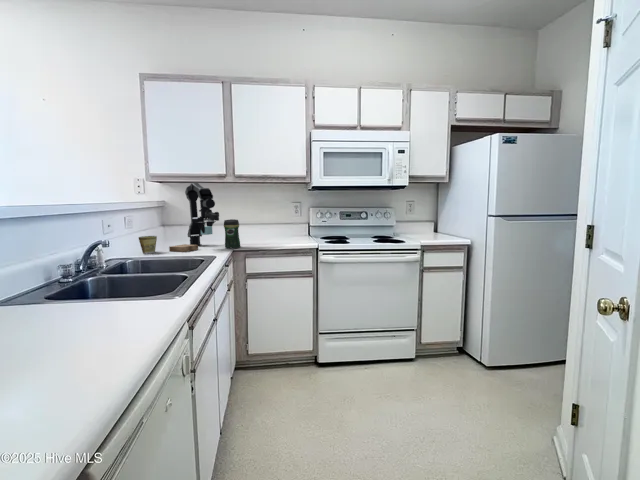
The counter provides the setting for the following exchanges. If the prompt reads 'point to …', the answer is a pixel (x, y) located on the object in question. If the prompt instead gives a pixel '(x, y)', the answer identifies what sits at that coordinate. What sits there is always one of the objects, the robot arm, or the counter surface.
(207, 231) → the teal cube
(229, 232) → the coffee jar
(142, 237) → the ceramic cup
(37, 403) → the counter surface
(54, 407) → the counter surface
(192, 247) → the walnut plinth
